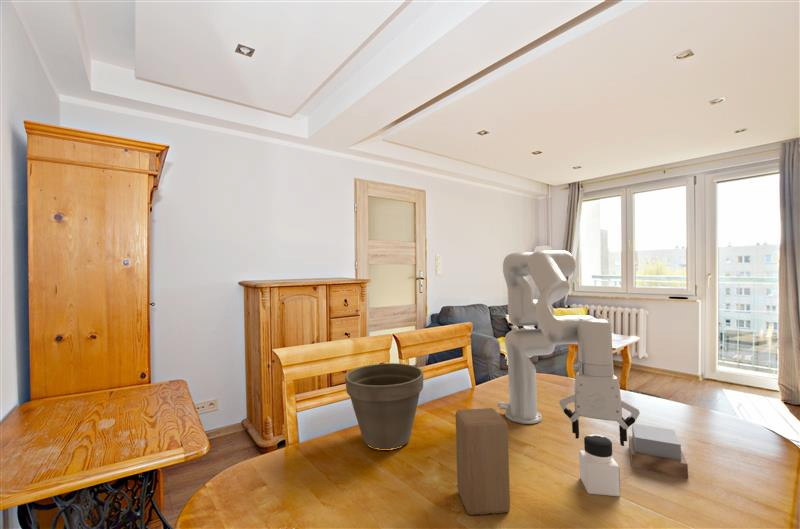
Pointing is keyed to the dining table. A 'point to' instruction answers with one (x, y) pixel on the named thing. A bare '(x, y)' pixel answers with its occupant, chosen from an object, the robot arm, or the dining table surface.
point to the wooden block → (482, 461)
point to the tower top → (656, 441)
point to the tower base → (658, 462)
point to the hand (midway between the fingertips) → (599, 440)
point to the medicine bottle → (599, 466)
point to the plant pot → (385, 402)
